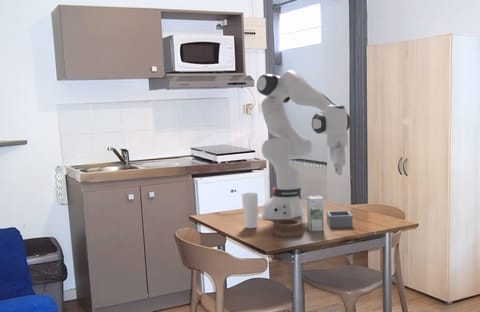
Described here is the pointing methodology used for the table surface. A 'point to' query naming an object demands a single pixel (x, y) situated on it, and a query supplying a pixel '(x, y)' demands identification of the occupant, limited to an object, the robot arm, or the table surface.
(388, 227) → the table surface
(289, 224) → the walnut round socket
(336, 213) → the slate square socket
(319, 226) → the syrup box
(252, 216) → the drinking glass
